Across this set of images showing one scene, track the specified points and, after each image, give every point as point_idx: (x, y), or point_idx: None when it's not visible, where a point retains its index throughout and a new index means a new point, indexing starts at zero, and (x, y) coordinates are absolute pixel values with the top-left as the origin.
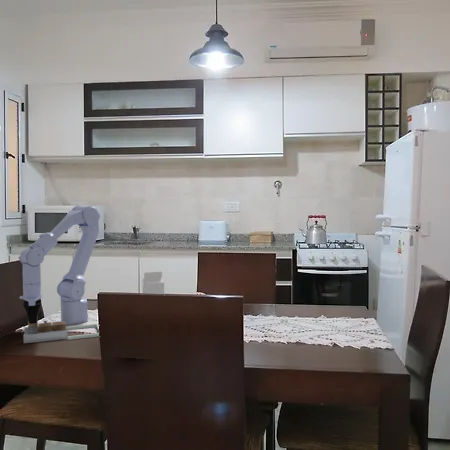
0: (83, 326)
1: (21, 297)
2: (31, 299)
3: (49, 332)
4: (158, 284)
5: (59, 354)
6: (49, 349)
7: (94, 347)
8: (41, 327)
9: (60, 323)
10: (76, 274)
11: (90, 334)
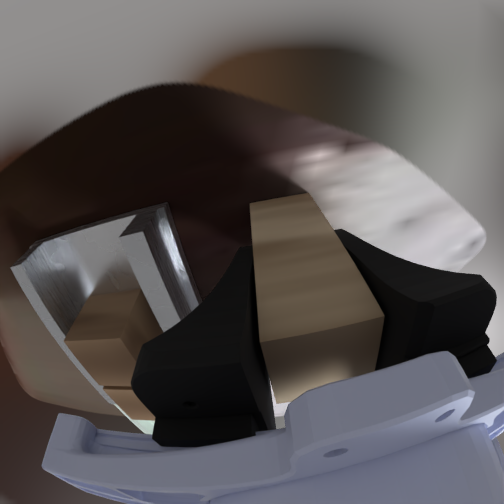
0: None
1: (291, 457)
2: (82, 486)
3: (71, 360)
4: None
5: (14, 349)
6: (31, 329)
7: (81, 408)
8: (75, 348)
9: (137, 409)
10: None
11: (136, 425)
